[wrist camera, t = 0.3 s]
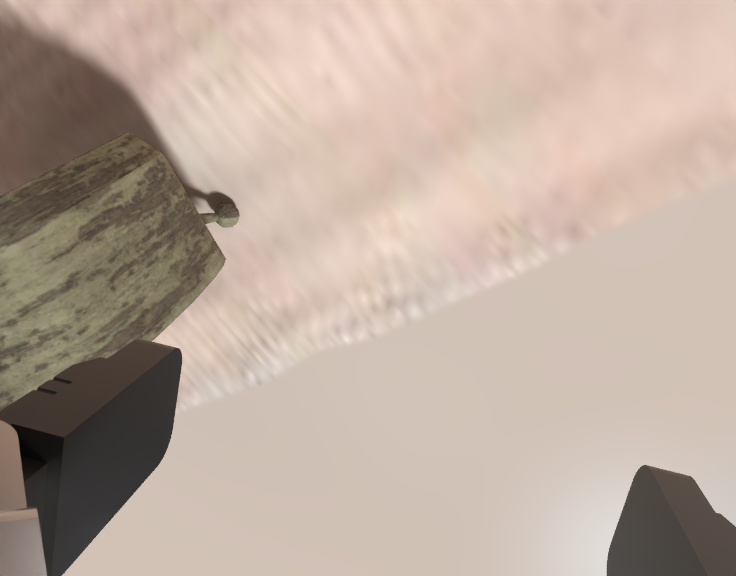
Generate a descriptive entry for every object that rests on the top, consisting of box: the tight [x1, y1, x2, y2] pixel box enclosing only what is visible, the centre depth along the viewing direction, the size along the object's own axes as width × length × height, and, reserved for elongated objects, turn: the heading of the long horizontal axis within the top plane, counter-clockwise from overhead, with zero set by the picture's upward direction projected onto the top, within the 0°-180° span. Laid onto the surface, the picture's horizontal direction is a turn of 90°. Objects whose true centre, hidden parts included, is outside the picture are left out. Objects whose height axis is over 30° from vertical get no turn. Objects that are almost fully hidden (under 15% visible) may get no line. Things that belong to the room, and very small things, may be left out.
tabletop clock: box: [0, 132, 239, 411], centre depth 36 cm, size 14×9×25 cm, turn 117°
